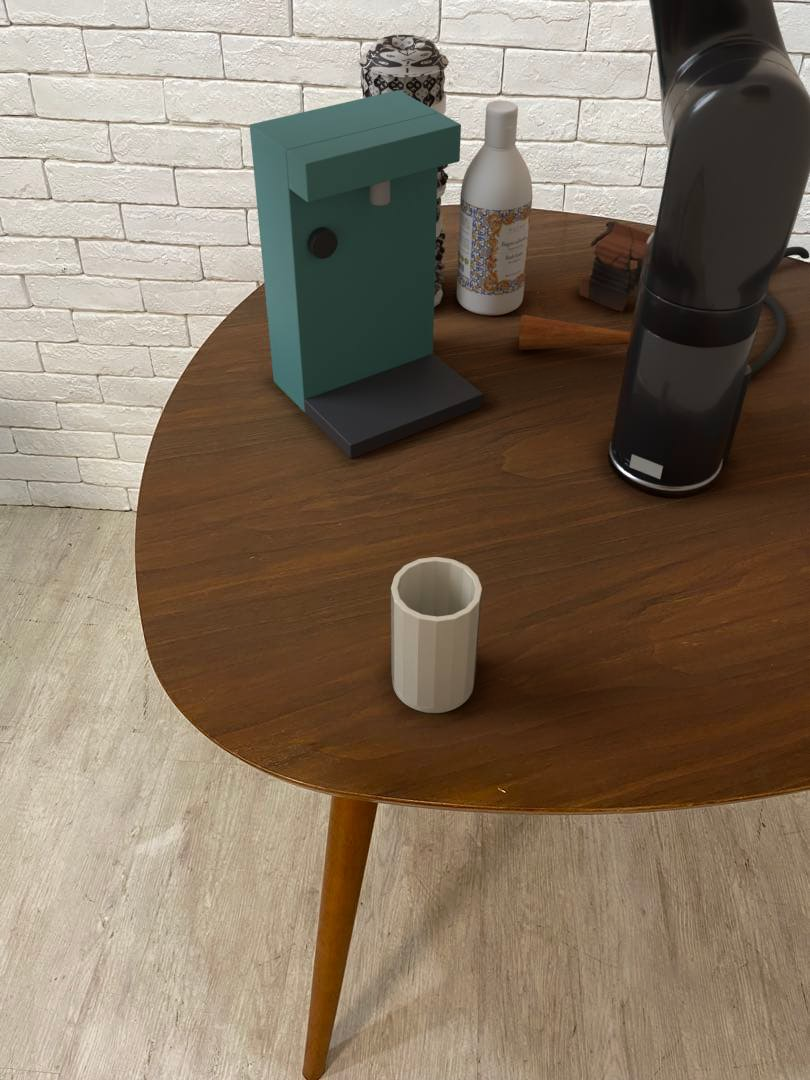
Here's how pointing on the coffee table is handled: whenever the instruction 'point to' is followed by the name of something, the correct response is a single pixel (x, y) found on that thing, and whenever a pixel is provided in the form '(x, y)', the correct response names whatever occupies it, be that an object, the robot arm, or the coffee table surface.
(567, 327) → the wooden cone
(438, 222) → the patterned cylindrical canister
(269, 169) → the coffee maker
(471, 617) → the container
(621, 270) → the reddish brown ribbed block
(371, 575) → the coffee table surface
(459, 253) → the bath foam
